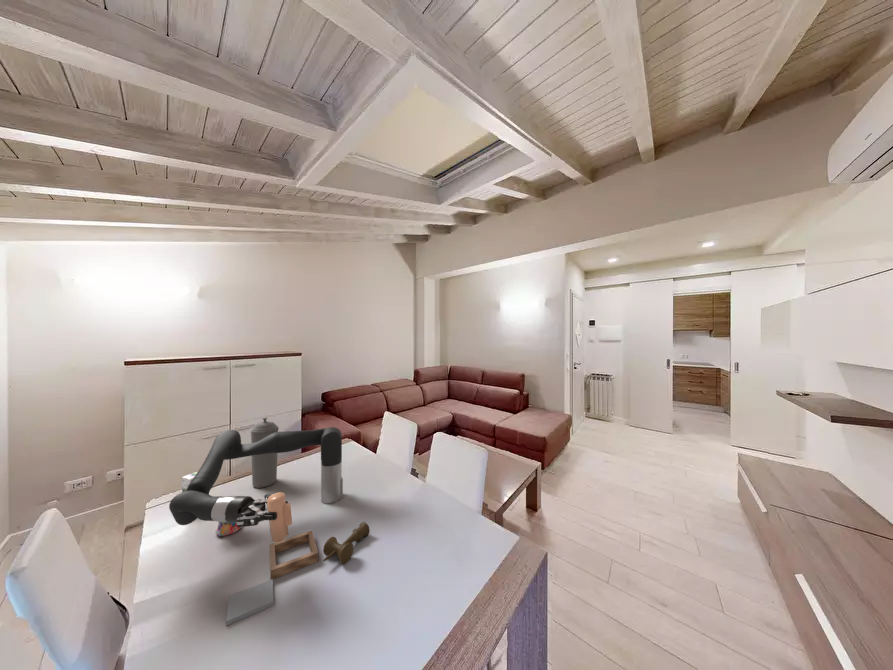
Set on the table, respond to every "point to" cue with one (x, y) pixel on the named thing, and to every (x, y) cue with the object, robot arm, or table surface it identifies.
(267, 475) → the canister
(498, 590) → the table surface
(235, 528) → the mug
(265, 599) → the slate mat
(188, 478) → the syrup box
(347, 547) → the kendama
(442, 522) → the table surface
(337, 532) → the table surface
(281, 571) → the walnut collar
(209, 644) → the table surface
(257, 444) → the robot arm
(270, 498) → the peach cylinder post
